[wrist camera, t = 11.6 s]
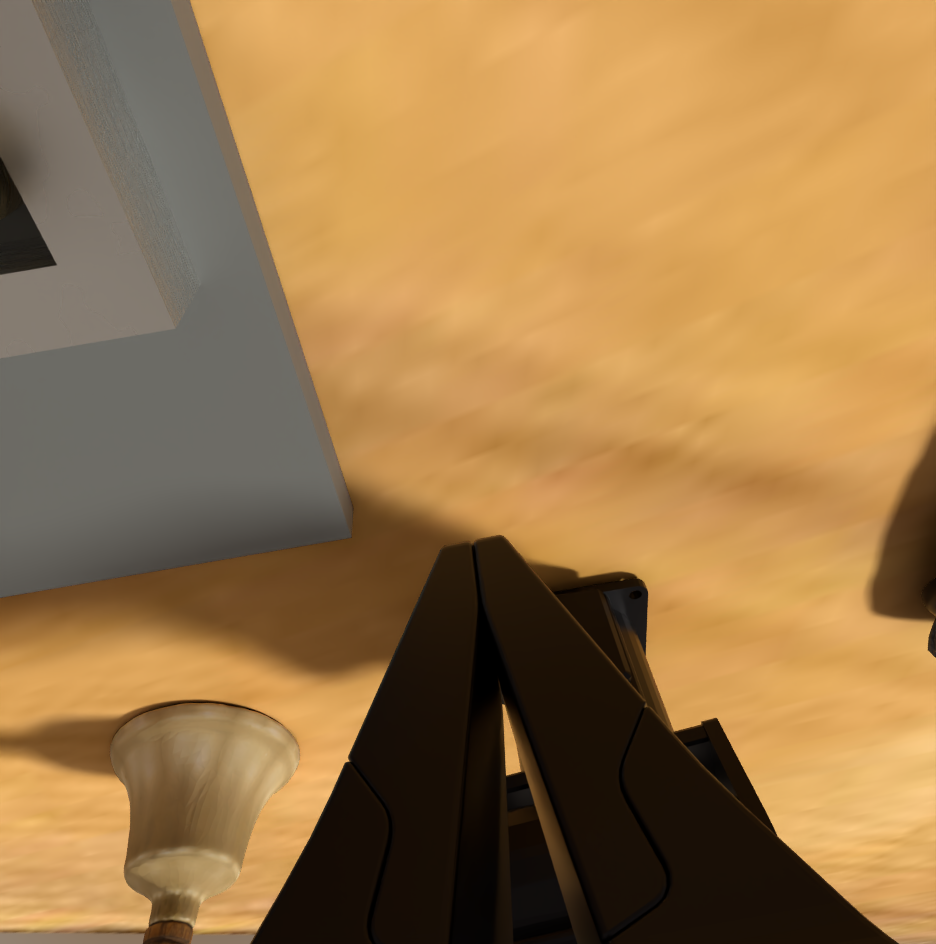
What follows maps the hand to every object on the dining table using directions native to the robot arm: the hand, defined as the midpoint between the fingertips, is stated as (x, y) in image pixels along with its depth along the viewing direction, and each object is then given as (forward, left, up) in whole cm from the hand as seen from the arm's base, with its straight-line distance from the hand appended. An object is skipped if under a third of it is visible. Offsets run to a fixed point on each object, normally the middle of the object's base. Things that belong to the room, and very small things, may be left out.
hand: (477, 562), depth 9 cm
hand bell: (-21, +14, -12) cm, 28 cm away
